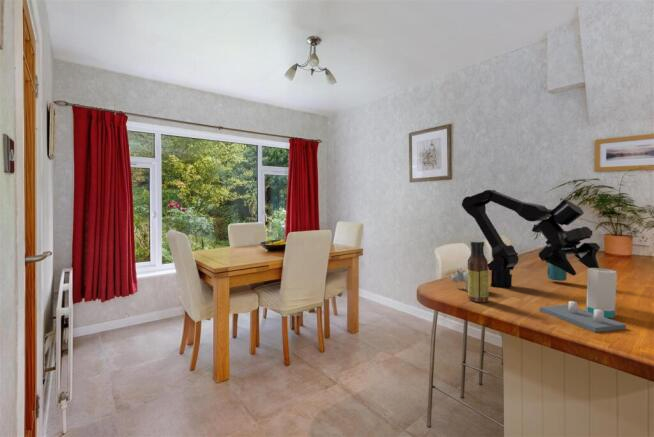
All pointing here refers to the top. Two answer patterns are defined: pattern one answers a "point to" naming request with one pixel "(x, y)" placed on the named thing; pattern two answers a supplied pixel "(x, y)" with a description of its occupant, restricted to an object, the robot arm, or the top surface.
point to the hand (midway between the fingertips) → (587, 273)
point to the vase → (601, 291)
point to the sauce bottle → (478, 273)
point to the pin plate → (583, 317)
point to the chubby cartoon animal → (460, 277)
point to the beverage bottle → (556, 273)
